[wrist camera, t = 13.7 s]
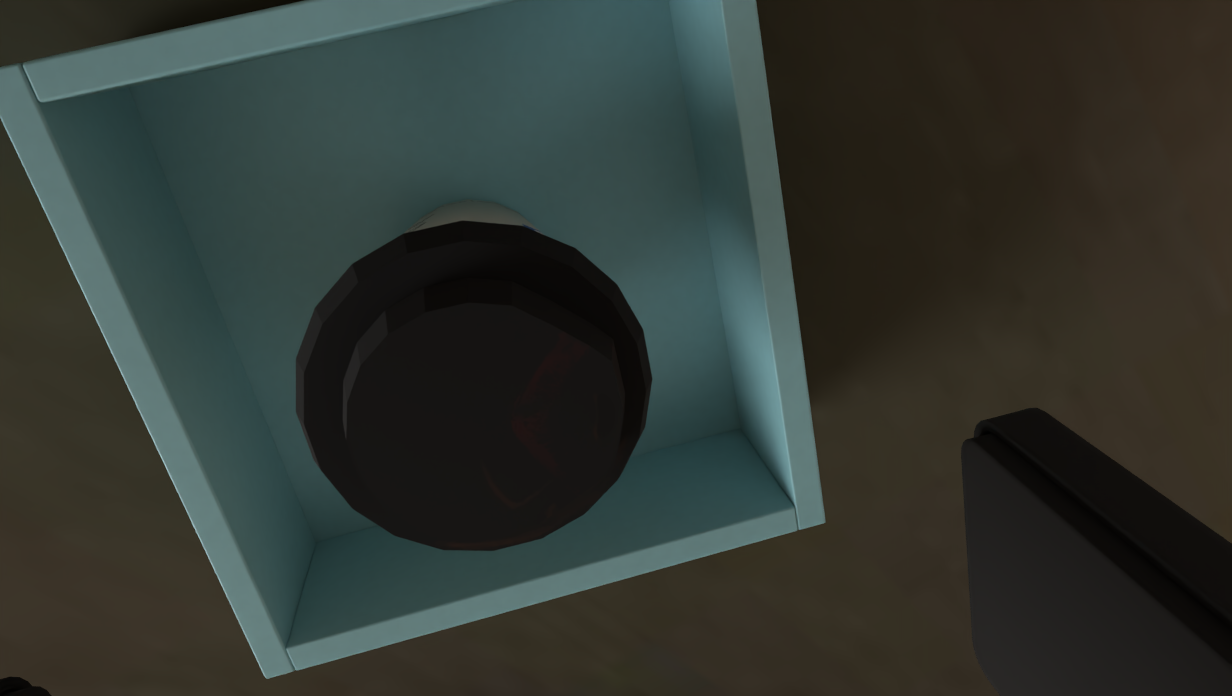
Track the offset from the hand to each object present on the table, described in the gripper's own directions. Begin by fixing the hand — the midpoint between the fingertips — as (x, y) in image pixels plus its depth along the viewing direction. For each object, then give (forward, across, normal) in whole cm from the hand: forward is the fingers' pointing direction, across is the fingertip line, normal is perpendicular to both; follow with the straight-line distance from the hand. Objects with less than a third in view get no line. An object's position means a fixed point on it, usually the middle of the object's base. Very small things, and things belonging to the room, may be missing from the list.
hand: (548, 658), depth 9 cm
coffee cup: (+17, +1, +1) cm, 17 cm away
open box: (+18, +1, +1) cm, 18 cm away
